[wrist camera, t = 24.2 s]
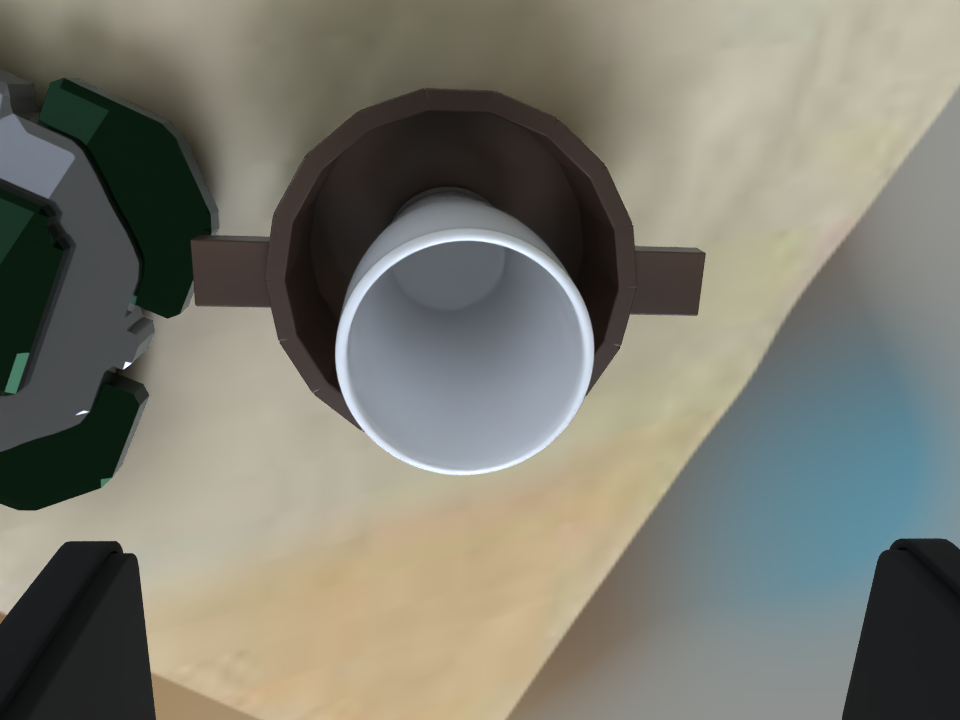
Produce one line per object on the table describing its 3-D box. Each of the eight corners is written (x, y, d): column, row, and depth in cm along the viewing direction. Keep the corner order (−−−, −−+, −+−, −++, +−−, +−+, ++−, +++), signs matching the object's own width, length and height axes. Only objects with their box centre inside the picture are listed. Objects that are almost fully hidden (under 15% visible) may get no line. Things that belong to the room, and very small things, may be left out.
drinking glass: (537, 177, 34) (621, 243, 20) (514, 331, 36) (574, 491, 22) (375, 157, 33) (341, 209, 19) (361, 314, 35) (321, 469, 21)
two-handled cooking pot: (222, 79, 32) (171, 77, 25) (671, 97, 34) (733, 100, 27) (240, 383, 36) (200, 450, 30) (640, 388, 38) (686, 452, 31)
